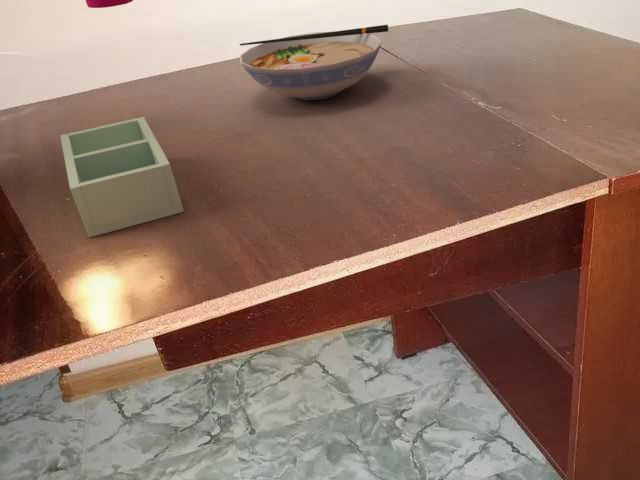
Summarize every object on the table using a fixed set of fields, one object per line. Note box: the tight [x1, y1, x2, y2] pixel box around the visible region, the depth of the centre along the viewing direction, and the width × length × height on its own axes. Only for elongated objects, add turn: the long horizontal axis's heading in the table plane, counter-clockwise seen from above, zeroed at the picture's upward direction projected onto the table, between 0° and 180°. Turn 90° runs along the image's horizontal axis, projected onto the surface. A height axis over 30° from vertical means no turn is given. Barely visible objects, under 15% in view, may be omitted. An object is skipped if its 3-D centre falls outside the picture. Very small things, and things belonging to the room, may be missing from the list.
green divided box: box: [59, 116, 185, 239], centre depth 85 cm, size 10×20×6 cm, turn 27°
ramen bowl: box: [239, 24, 389, 101], centre depth 113 cm, size 25×23×8 cm
